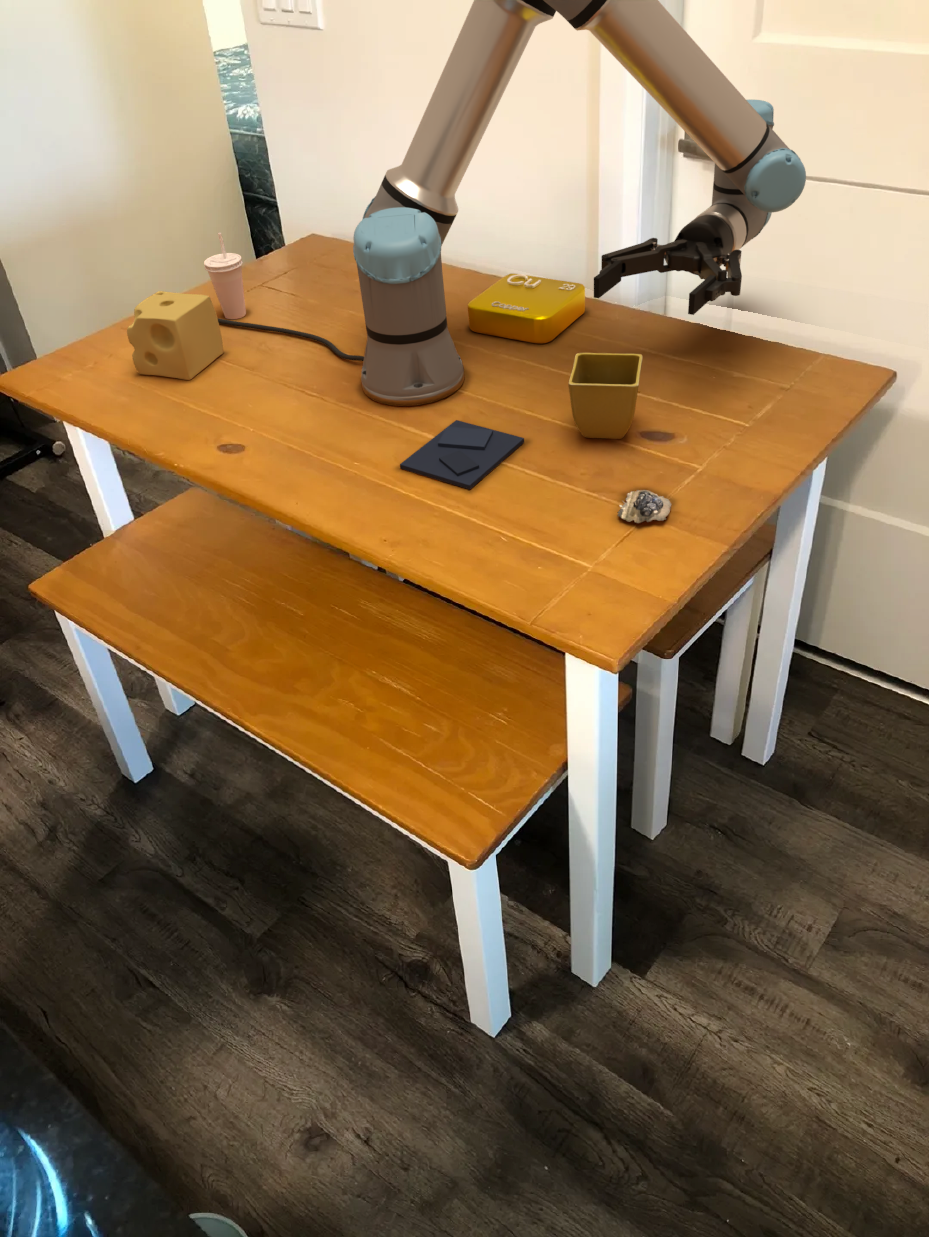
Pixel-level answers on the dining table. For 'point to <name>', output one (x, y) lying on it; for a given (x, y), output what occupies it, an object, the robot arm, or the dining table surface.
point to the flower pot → (604, 393)
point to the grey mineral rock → (644, 507)
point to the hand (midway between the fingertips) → (642, 296)
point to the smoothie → (227, 281)
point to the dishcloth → (462, 454)
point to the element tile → (527, 308)
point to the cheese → (175, 335)
